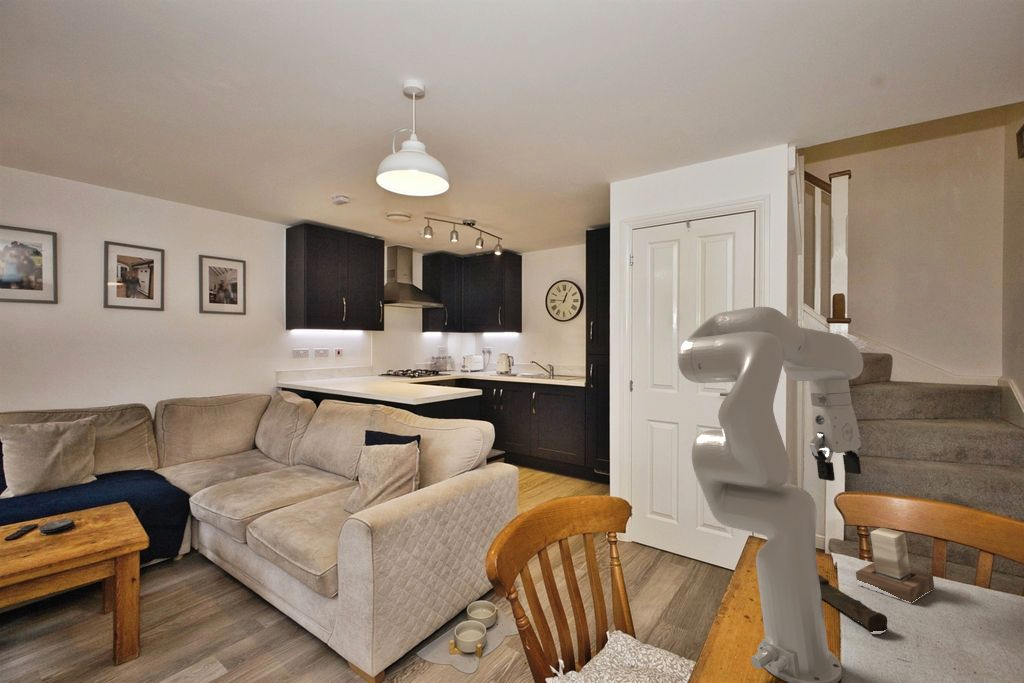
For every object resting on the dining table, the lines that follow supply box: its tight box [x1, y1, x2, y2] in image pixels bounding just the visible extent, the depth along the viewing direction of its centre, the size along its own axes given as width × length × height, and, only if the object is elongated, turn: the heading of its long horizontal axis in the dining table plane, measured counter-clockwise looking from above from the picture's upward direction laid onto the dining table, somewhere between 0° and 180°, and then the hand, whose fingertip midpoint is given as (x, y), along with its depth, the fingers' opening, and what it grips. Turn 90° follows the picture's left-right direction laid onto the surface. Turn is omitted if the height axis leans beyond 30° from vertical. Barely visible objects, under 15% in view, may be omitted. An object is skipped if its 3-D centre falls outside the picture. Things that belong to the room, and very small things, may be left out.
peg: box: [869, 527, 911, 583], centre depth 101 cm, size 5×5×12 cm
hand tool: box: [818, 573, 888, 633], centre depth 95 cm, size 19×4×5 cm, turn 3°
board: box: [855, 562, 936, 603], centre depth 100 cm, size 10×10×3 cm
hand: (840, 476), depth 103 cm, fingers open, 9 cm apart
